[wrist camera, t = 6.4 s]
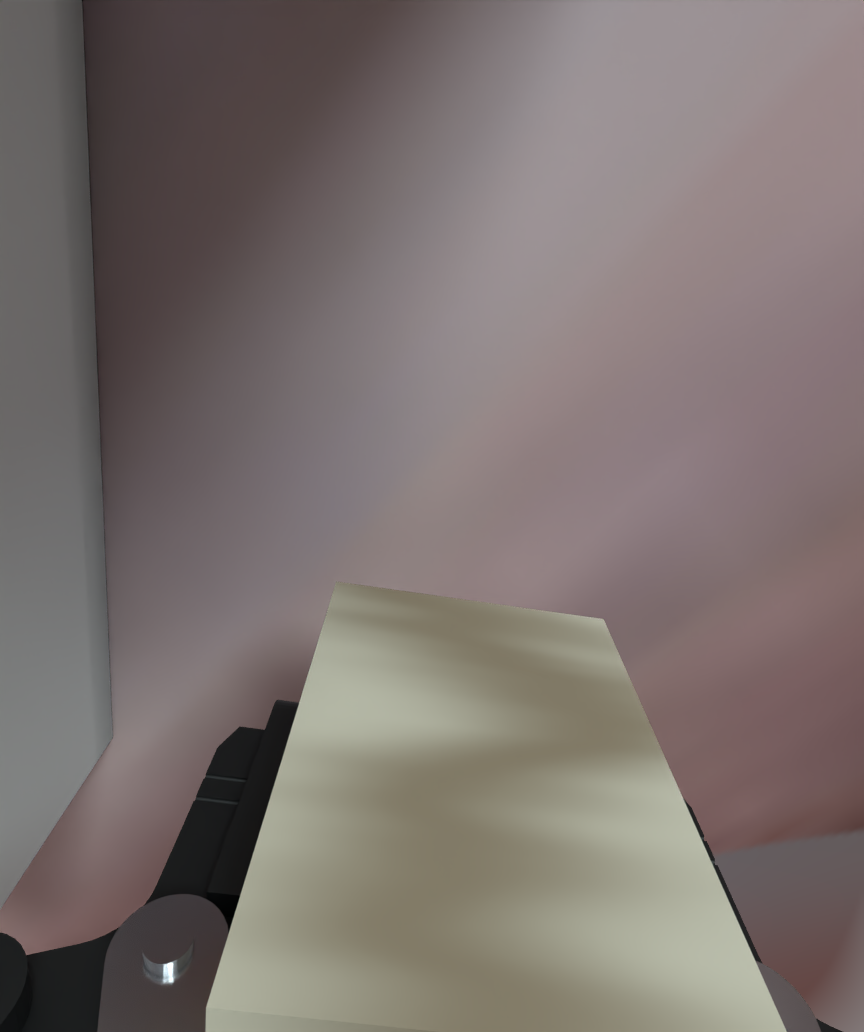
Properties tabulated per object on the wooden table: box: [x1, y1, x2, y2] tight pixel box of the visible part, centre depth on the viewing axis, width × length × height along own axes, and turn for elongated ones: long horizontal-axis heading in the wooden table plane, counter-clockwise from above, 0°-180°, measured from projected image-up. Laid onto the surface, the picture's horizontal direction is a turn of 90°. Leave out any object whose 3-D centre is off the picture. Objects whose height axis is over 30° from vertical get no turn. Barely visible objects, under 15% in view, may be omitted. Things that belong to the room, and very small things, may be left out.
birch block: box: [205, 582, 787, 1032], centre depth 9 cm, size 5×5×7 cm
